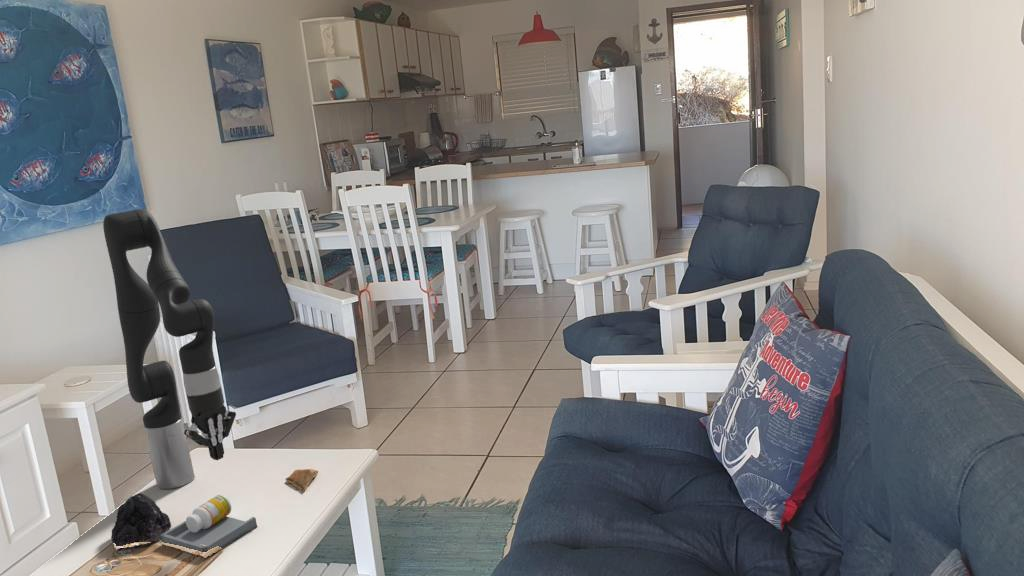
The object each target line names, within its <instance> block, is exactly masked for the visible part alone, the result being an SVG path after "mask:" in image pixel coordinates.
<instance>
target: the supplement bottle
mask: <svg viewBox="0 0 1024 576" xmlns="http://www.w3.org/2000/svg"><path fill="white" fill-rule="evenodd" d="M231 512H232V504H231V501H230V500H229V499H228V498H227V497H226V496H225V495H224V494H216V495H214V496H213V497H211V498H210V499H208V500H206V502H204V503H202V504H200V505H199V506H197V507H196V508H195V509H194V510H193V511H192V513H191V514H190V515H188V516H187V517H186V519H185V521H186V526H187V528H188V529H189V530H190V531H191V532H198V531H199V530H201V529H207V528H209V527H211V526H212V525H214V524H215V523H217V522H218V521H220V520H221V519H223V518H224V517H226V516H227V517H228V515H230V514H231Z"/></svg>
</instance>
